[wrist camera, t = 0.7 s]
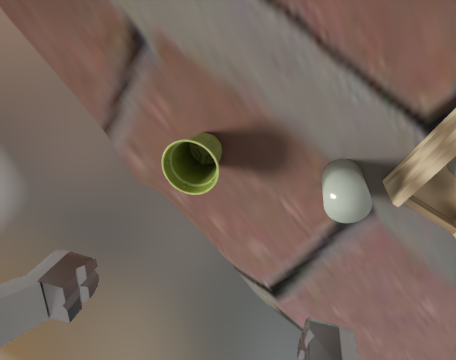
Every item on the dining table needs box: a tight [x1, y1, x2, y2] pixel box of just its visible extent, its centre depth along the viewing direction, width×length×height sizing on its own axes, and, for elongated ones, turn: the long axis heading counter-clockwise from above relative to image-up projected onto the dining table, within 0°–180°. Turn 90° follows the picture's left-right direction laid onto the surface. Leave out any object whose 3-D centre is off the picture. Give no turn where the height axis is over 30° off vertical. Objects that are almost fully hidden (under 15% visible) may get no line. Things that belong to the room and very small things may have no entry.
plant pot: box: [162, 133, 222, 195], centre depth 50 cm, size 9×9×9 cm
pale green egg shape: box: [322, 159, 372, 223], centre depth 46 cm, size 6×6×9 cm
